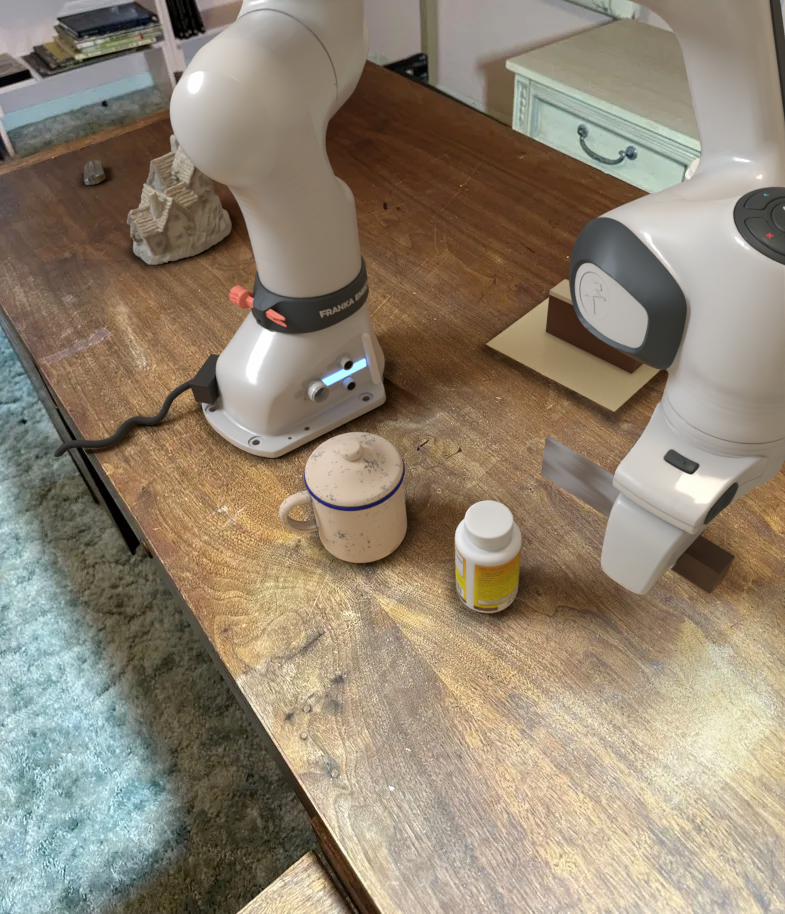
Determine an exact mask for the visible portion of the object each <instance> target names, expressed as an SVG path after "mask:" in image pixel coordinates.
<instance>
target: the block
mask: <svg viewBox="0 0 785 914" xmlns="http://www.w3.org/2000/svg"><path fill="white" fill-rule="evenodd" d="M105 173H106V172H105V169H104V166H103V163H102V160H101V159H91V160H88V161H86V164H84V165H83V182H84V184H85V185H86V186H93V185H97V184H99V183H101V182H103V181H104V180H105V179H106V178H107V176H106V174H105Z"/></svg>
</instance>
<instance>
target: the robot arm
mask: <svg viewBox="0 0 785 914" xmlns="http://www.w3.org/2000/svg"><path fill="white" fill-rule="evenodd" d="M626 1H628V2H631V3H633V4H636V5H639V6H641V7H643V8H645V9H647V10H649V11H651V12H652V13H654V14H655V15H657V16H659V17H660V19H662V21H664V22H665V23H666V24H667V26H668V27H669V28H670V29H671V31H672V32H673V34H674V35H675V37H676V39H677V42H678V44H679V47H680V49H681V52H682V56H683V61H684V67H685V72H686V77H687V83H688V88H689V92H690V98H691V105H692V108H693V114H694V119H695V125H696V130H697V135H698V141H699V146H700V156H699V157H700V161H699V164H698V167H697V169H696V171H695V173H694V174H693V176H692V177H691V178H690V179H688V180H686V179H685V180H683V181H681V182H679V183H677V184H674V185H671V186H669V187H667V188H664V189H662V190H659V191H657V192H653V193H649V194H646V195H643V196H641V197H639V198H636V199H634V200H632V201H629V202H627V203H624V204H622V205H620V206H618V207H615V208H613V209H611V210H608V211H607V212H605V213H603V214H601V215H600V216H598V217H596V218H593V219H591V220H589V221H588V222H587V223H586V224H584V226H583V227H582V229H580V232H579V233H578V235H577V237H576V239H575V241H574V244H573V246H572V250H571V254H570V257H569V265H568V280H569V286H570V294H571V299H572V303H573V307H574V310H575V313H576V315H577V317H578V319H579V320H580V322H581V323H582V324H583V326H584V327H585V328H586V329H587V330H588V331H590V332H591V333H592V334H593V335H594V336H596V337H597V338H598V339H600V340H601V341H603V342H604V343H606V344H608V345H609V346H611V347H613V348H615V349H617V350H618V351H620V352H622V353H624V354H626V355H627V356H629V357H631V358H633V359H635V360H637V361H639V362H641V363H643V364H646V365H648V366H650V367H653V368H655V369H659V370H660V371H664V370H665V371H667V373H668V376H667V379H666V383H665V387H664V390H663V394H662V396H661V400H660V401H659V402H658V403H657V404H656V405H655V408H654V410H653V413H652V415H651V418H650V419H649V422H648V423H647V425H646V427H645V428H644V430H643V432H642V433H641V434H640V435H639V437H638V438H637V440H636V441H635V442H634V444H633V445H632V446H631V448H630V449H629V450H628V451H627V453H626V454H625V456H623V459H622V460H621V461H620V463H619V464H618V466H617V467H616V469H615V471H614V474H613V475H614V478H613V487H615V488H616V489H617V490H618V491H620V494H619V495H618V497H617V499H616V501H615V503H614V505H613V507H612V510H611V513H610V516H609V518H608V520H607V524H606V529H605V532H604V537H603V542H602V547H601V548H602V549H601V554H600V567H601V570H602V571H603V572H604V573H605V575H606V576H608V577H609V578H610V579H611V580H612V581H614V582H615V583H617V584H618V585H620V586H621V587H622V588H625V589H626V590H627V591H629V592H631V593H634V594H635V595H639V596H643V595H646V594H647V593H649V592H650V591H651V590H652V588H654V586H655V585H656V584H657V582H659V580H660V579H661V578H662V577H663V576H664V575H665V573H667V572H668V570H671V568H673V566H674V565H675V564H676V563H677V562H678V561H679V560H680V558H681V557H682V554H683V553H684V552H685V550H686V549H687V548H688V547H689V546H690V545H691V544H692V543H693V542H694V541H695V539H696V538H697V537H698V536H699V535H701V536H703V535H704V534H705V532H706V531H707V529H708V527H709V526H710V524H711V523H712V522H713V521H714V520H715V519H716V518H717V517H718V515H719V514H720V513H721V512H723V511H724V510H725V509H726V508H727V507H728V506H730V504H732V503H734V502H736V501H738V500H739V499H740V498H741V497H743V496H745V495H746V494H748V493H749V492H751V491H752V490H753V489H754V488H757V487H760V486H762V485H764V484H766V483H768V482H770V481H771V480H773V478H775V477H776V476H777V474H779V472H780V471H781V468H783V465H784V463H785V27H784V19H783V9H782V3H781V0H626ZM369 34H370V33H369V29H368V25H367V21H366V18H365V0H242V4H241V7H240V10H239V13H238V14H237V17H236V20H235V21H234V22H233V23H232V24H230V25H229V26H228V27H227V28H225V29H224V30H222V32H220V33H218V34H217V35H216V36H215V37H213V38H212V39H211V40H209V41H208V42H207V43H205V44H204V45H203V46H202V47H201V48H199V49H198V51H197V52H196V53H195V54H194V55H193V57H192V59H191V60H190V62H189V63H188V65H187V67H186V68H185V70H184V71H183V73H182V74H181V76H180V78H179V80H178V82H177V83H176V85H175V87H174V89H173V91H172V94H171V98H170V102H169V119H170V124H171V128H172V132H173V134H174V135H175V137H176V139H177V142H178V144H179V145H180V147H181V149H182V151H183V152H184V154H185V155H186V156H187V158H188V159H189V160H190V161H191V162H192V163H193V165H194V166H196V167H197V168H198V169H199V170H200V171H201V172H202V173H204V174H205V175H206V176H208V177H209V178H211V179H212V180H213V181H215V182H216V183H219V184H222V185H224V186H227V188H228V189H229V191H230V192H231V194H232V195H233V197H234V199H235V200H236V202H237V204H238V206H239V209H240V211H241V214H242V216H243V219H244V222H245V226H246V229H247V232H248V237H249V240H250V245H251V249H252V253H253V257H254V261H255V266H256V272H255V276H254V283H253V289H252V291H251V290H247V289H246V288H245V287H244V286H242V285H241V284H237V285H234V286H233V287H232V288H231V289H230V291H229V293H228V296H229V297H228V298H229V300H230V302H231V303H232V304H234V305H237V306H238V307H239V308H241V309H243V310H246V309H249V308H250V311H249V313H248V314H247V315H246V317H245V319H244V320H243V321H242V322H241V325H240V326H239V327H238V329H237V330H236V332H235V334H234V335H233V336H232V338H231V339H230V341H229V342H228V344H227V345H226V346H225V348H224V349H223V351H221V353H220V354H215V353H210V355H209V356H208V357H207V359H206V360H205V361H204V362H203V364H202V365H201V367H200V368H199V369H198V371H197V372H196V374H195V375H194V376H193V378H191V379H189V380H187V381H185V382H183V383H181V384H180V385H178V386H177V387H176V388H174V389H173V390H172V391H171V392H170V393H169V394H168V395H167V396H166V398H165V399H164V402H163V404H162V406H161V409H160V410H159V412H158V413H157V414H156V415H154V416H150V417H149V416H141V415H140V416H139V415H138V416H132V417H130V418H127V419H126V420H125V421H124V422H122V423H121V424H120V426H119V427H118V429H117V430H116V432H115V433H114V434H113V435H111V436H109V437H107V438H104V439H98V440H95V439H93V440H92V439H91V440H90V439H73V440H69V441H68V440H67V441H66V442H64V443H62V444H61V445H59V447H57V448H56V450H55V451H54V454H53V457H54V458H60V457H62V456H64V454H66V452H67V451H69V450H72V449H76V448H77V449H80V448H81V449H102V448H107V447H110V446H112V445H115V444H116V443H118V442H119V441H121V439H122V438H123V437H124V436H125V434H126V433H127V431H128V430H129V429H130V428H131V427H133V426H135V425H145V426H153V425H157V424H159V423H161V422H162V421H163V420H164V419H165V418H166V417H167V415H168V414H169V411H170V409H171V406H172V404H173V402H174V401H176V399H177V398H178V397H179V396H180V395H182V394H183V393H185V392H186V391H188V390H189V389H191V392H192V396H193V398H194V402H196V403H201V407H202V412H203V415H204V417H205V419H206V421H207V422H208V424H209V425H210V427H211V428H212V429H213V430H214V431H215V432H216V433H217V434H219V435H220V436H221V437H222V438H223V439H224V440H226V441H227V442H228V443H230V444H231V445H233V446H234V447H237V448H238V449H239V450H242V451H244V452H246V453H248V454H251V455H254V456H257V457H262V458H268V459H269V458H271V459H276V458H279V457H281V456H283V455H286V454H287V453H289V452H292V451H294V450H296V449H298V448H299V447H301V446H304V445H305V444H308V443H309V442H312V441H313V440H315V439H318V438H319V437H322V436H323V435H324V434H327V433H329V432H331V431H333V430H335V429H337V428H339V427H341V426H343V425H344V424H347V423H349V422H350V421H353V420H355V419H357V418H359V417H361V416H362V415H364V414H367V413H368V412H370V411H372V410H374V409H376V408H378V407H381V406H382V405H384V404H385V402H386V400H387V395H386V389H385V386H384V380H385V376H384V375H383V374H384V370H385V366H386V365H385V364H386V363H385V354H384V352H383V350H382V347H381V346H380V343H379V340H378V337H377V335H376V332H375V329H374V324H373V320H372V317H371V313H370V308H369V304H368V297H369V293H370V290H369V289H370V287H369V279H368V271H367V265H366V261H365V260H366V259H365V258H364V256H363V254H362V253H361V245H360V234H359V227H358V220H357V219H358V216H357V210H356V200H355V196H354V193H353V191H352V189H351V188H350V186H349V185H348V184H347V183H346V182H345V181H344V180H342V179H341V178H340V177H339V176H337V175H335V172H334V170H333V167H332V166H331V163H330V159H329V156H328V153H327V145H326V141H327V140H326V138H327V132H328V131H327V130H328V126H329V122H330V120H332V118H333V117H334V116H335V115H336V113H338V111H339V110H340V109H341V108H342V107H343V106H344V104H345V103H346V102H347V101H348V100H349V99H350V98H351V96H352V95H353V93H354V92H355V90H356V88H357V86H358V84H359V81H360V79H361V76H362V74H363V72H364V69H365V65H366V63H367V58H368V56H369V50H370V35H369Z"/></svg>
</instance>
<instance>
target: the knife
mask: <svg viewBox="0 0 785 914" xmlns="http://www.w3.org/2000/svg"><path fill="white" fill-rule="evenodd" d="M542 455H543V456H542V463H541V469H540V476H542V477H544V478H545V479H547V480H548V481H550V482H551V483H553V484H555V485H557V486H558V487H560V488H561V489H563V490H564V491H565V492H567V493H569V494H571V495H572V496H574V497H575V498H577V499H578V500H580V501H581V502H583V503H584V504H586V505H588V506H589V507H591V508H592V509H594V510H595V511H597V512H599V513H600V514H602V515H603V516H604V517H606V518H608V519H609V516H610V513H611V510H612V507H613V505H614V503H615V501H616V499H617V497H618V495H619V494H620V491H618V490H617V489H616V488H615V487H613V478H614V474H613V473H611V472H609V471H607V470H605V469H604V468H603V467H601V466H599V465H598V464H596V463H594V462H592V461H591V460H589V459H587V458H586V457H584V456H583V455H581V454H579V453H578V452H576V451H574V450H572V449H571V448H569V447H568V446H566V445H564V444H563V443H561V442H559V441H558V440H556V439H554V438H553V437H551V436H549V435H547V436H546V437H545V441H544V448H543V454H542ZM734 559H735V555H734V554H733V553H732V552H730V551H728V550H726V549H724V548H723V547H721V546H719V545H718V544H716V543H714V542H712V541H711V540H710V539H708V538H706V537H705V536H703V535H699V536H698V537H697V538H696V539H695V541H694V542H693V543H692V544H691V545H690V546H689V547H688V548H687V549H686V550H685V552H684V553H683V554H682V557H681V558H680V560H679V561H678V562H677V563H676V564H675V565H674V566H673V568H671V569H670V570H671V571H673V572H674V573H675V574H677V575H679V576H680V577H682V578H684V579H685V580H686V581H688V582H690V583H691V584H693V585H695V586H696V587H698V588H699V589H700V590H702V591H704V592H705V593H706V594H708V595H712V594H713V592H714V591H715V590H716V588H718V586H719V585H720V584H721V583H722V581H723V580H724V579H725V578H726V576H727V574H728V572H729V570H730V568H731V565H732V563H733V561H734Z"/></svg>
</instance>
